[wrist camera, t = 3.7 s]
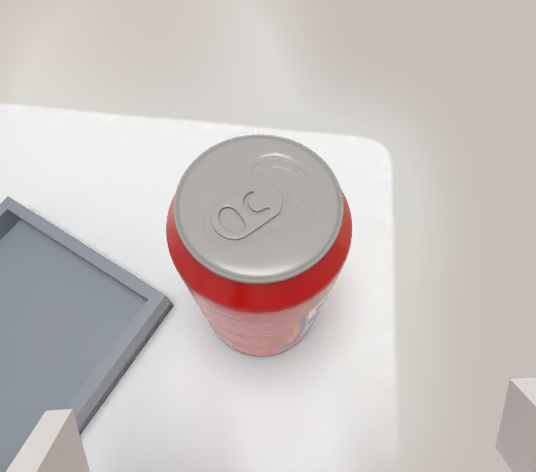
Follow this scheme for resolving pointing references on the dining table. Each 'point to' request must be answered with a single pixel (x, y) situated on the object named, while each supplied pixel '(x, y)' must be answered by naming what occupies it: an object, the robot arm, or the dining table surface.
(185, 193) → the soda can
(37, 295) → the tray
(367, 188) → the dining table surface
